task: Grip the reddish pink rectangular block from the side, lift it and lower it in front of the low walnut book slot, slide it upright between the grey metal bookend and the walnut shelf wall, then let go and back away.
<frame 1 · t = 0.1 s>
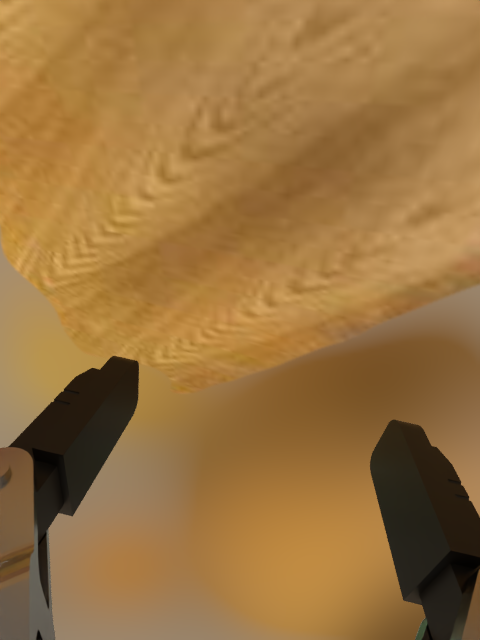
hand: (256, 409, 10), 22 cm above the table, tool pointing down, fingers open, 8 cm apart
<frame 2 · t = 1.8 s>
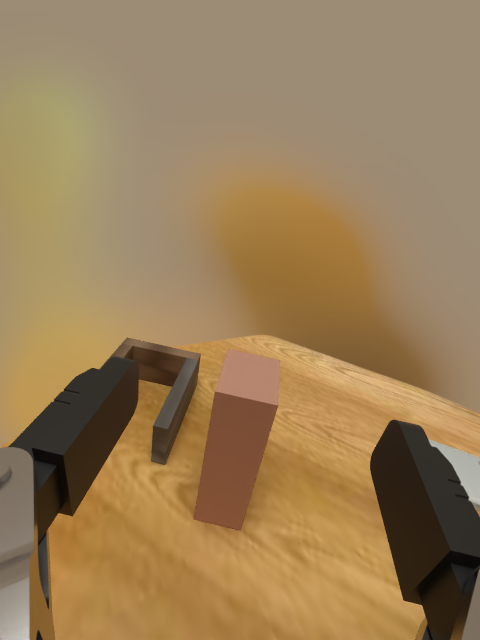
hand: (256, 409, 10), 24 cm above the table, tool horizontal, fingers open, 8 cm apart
hard drive: (435, 473, 40), on the table
book slot: (140, 413, 40), on the table
reddish pink rectangular block: (222, 496, 32), on the table
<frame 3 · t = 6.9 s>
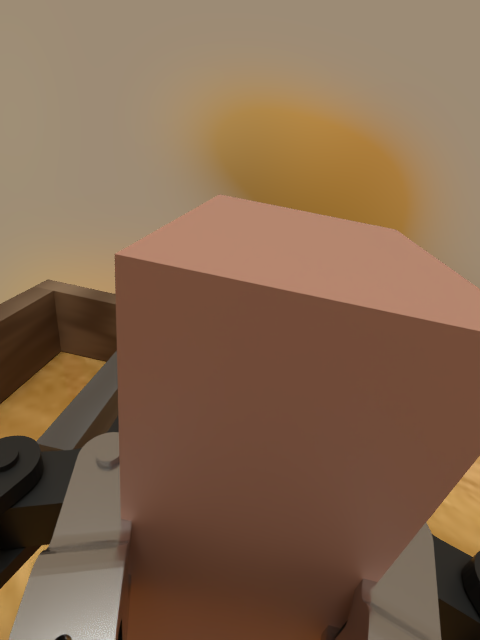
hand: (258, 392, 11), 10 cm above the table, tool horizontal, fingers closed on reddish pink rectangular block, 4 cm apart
book slot: (57, 413, 21), on the table
reddish pink rectangular block: (207, 616, 13), on the table, touching gripper
when the fingers open (11 cm above the table, at t = 15.4 s): reddish pink rectangular block stays where it is, resting in book slot.
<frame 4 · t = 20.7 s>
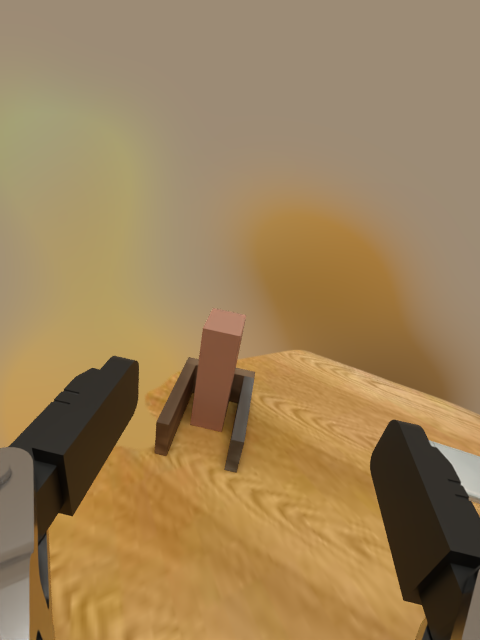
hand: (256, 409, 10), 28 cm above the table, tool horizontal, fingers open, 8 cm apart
hard drive: (471, 482, 45), on the table
book slot: (206, 426, 45), on the table
reddish pink rectangular block: (210, 414, 47), resting in book slot
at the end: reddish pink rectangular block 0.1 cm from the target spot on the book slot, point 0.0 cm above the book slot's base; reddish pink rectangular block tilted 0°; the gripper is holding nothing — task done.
